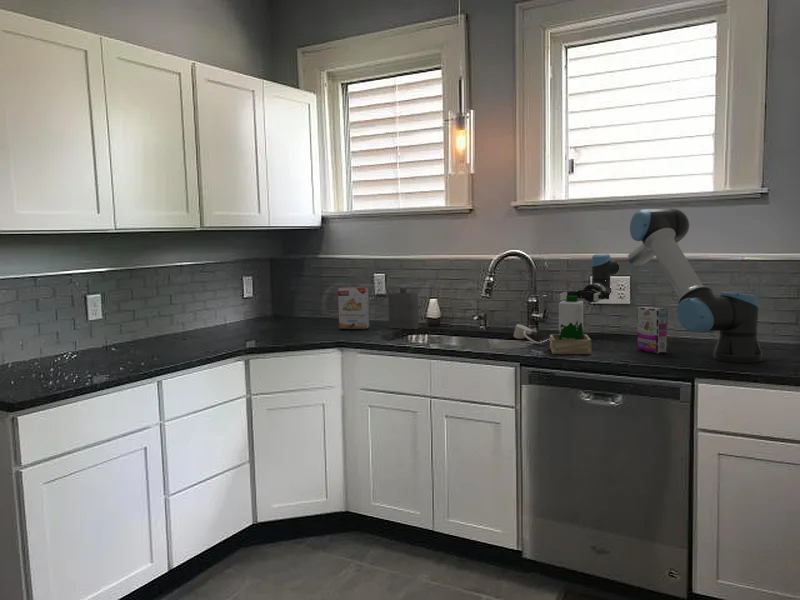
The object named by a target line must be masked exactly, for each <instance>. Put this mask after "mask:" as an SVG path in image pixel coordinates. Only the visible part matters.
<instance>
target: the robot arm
mask: <svg viewBox="0 0 800 600" xmlns="http://www.w3.org/2000/svg"><path fill="white" fill-rule="evenodd" d="M689 229H690V222H689V218H688V216H687V215H686V214H685V213H684V212H683V211H681V210H679V209H676V208H645V209H639V210H637V211H636V212H635V213H633V215H632V217H631V220H630V225H629V233H630V237H631V238H632V240H634V241H636V242H641V243H640V244H639V245H637V246H636V247H635V248H634V249H632V251H630V252H629V253H628V254H629V255H628V254H627V255H628V257H629V258H628V261H629V262H630V263H631V265H634V266H637V265H642V264H644V263H645V264H646V263H648V262H649V261H650V260H651V259H653V258H654V257H655V258H656V260H657V261H658V263H659V265H660V266H661V268H662V270H663V271H664V273H665V275H666V277H667V278H668V281H669V282H670V284H671V285H672V287H673V289H674V290H675V292H676V294H677V295H678V297H679V299H678V301H677V307H676V313H677V320H678V322H679V324H680V326H682V327H683V328H684V329H685V330H687V331H688V332H691V333H701V334H702V333H704V334H705V333H707V332H718V331H719V336H718V339H717V341H716V345H715V348H714V349H713V359H715V360H717V361H721V362H727V363H739V364H745V363H746V364H750V363H751V364H752V363H753V364H754V363H759V362H762V361H763V352H762V349H761V346H760V343H759V339H758V318H759V317H758V316H759V306H758V305H759V302H758V297H757V296H756V295H755V294H751V293H750V294H749V293H742V292H741V293H740V292H730V291H721V292H720V294H719V296H716V295H715V294H714V291H712V289H711V287H709V286H706V285H705V286H704V285H703V283H702V281H701V280H700V278H699V277H698V275H697V274H696V272H695V270H694V269H693V267H692V266H691V264H690V262H689V261H688V259H687V257H686V255H685V254H684V253H683V251H682V248H680V246H679V244H678V243H679V242H680V241H681V240H683V239H684V238H685V237H686V236H687V234H688V233H689ZM591 257H592V258H591V284H590V283H589V284H588V285H586V286H585V287H584V288H583V289H578V290H576V289H575V290H568V291H566V290H565V291H559V294H558V295H559V301H566V300H567V296H577V299H579V300H581V299H583V300H585V301H586V302H589V303H598V302H599V301H601V300H602V301H603V300H610V297H609V295H610V293H611V288H610V284H611V277H613V276H612V275H614V274H616V273H617V272H618V270H619V265H618V264H617V262H615V261H614V260H612V259H611V258H612V257H611V256H610V254H608V253H607V254H606V253H605V254H604V253H602V254H599V253H598V254H594V255H592V256H591ZM645 264H644V265H645ZM642 266H643V265H642ZM605 280H606V281H605Z"/></svg>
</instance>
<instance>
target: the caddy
mask: <svg viewBox="0 0 800 600" xmlns="http://www.w3.org/2000/svg"><path fill="white" fill-rule="evenodd" d="M549 339H550V340H549V349H551V350H550V351H552V352H551V355H553V354H591V355H592V339H591V338H590V336H589V335H588V334H587V333H583V340H559V333H558V334H555V333H553V334H552V333H551V334H549Z"/></svg>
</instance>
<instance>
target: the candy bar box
mask: <svg viewBox="0 0 800 600" xmlns="http://www.w3.org/2000/svg"><path fill="white" fill-rule="evenodd" d="M668 315H669V313H668V308H662V307H654V306H638V307H637V316H636V319H637V320H636V321H637V322H636V323H637V325H636V326H637V328H636V329H637V330H636V333H637V334H636V342H637V343H636V344H637V345H636V349H637V350H638V351H642V350H643V351H644V352H647V353H653V354H657V355H658V354H666V353H668Z"/></svg>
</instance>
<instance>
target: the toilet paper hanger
mask: <svg viewBox="0 0 800 600" xmlns="http://www.w3.org/2000/svg"><path fill="white" fill-rule="evenodd" d="M532 332H533V330H532V328H529V327H527V326H526V325H523V324H516V325H515V328H514V332H513V337H514V338H515V339H516V340H517V339H518V340H520V339H521V340H522V339H525V338H526V339H527V340H528V341H530V342H531V343H533V344H537V345H539V343H540V344H542V342H543V343H545V341H546V342H548V341H547V340H549V341H550V338H547V339H545V340H542V341H536V340H535V339H532V338H531V337H529V336H528V335H531V334H532Z"/></svg>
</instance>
